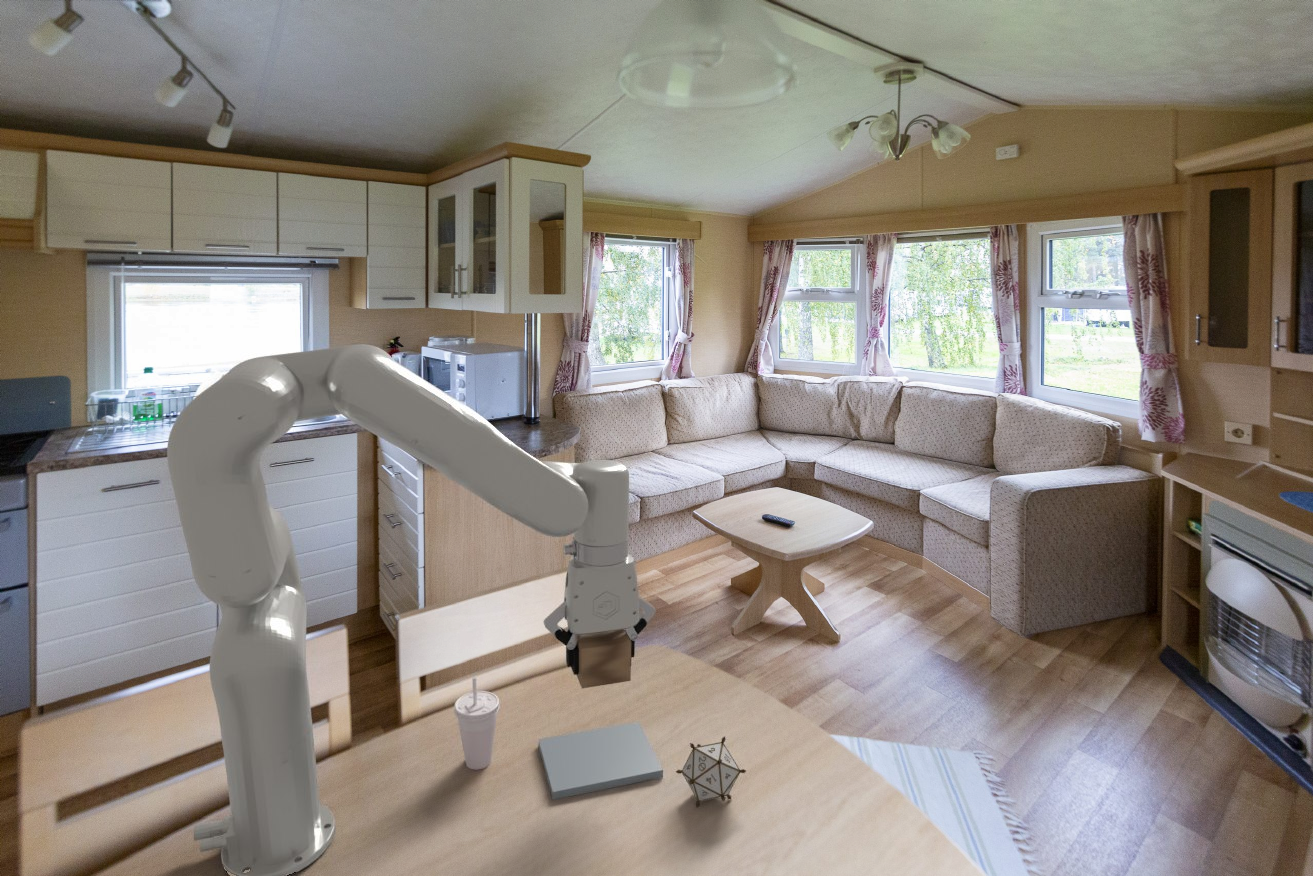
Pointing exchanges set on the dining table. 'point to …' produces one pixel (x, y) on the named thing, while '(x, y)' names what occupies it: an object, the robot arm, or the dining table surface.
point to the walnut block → (604, 658)
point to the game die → (710, 771)
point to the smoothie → (477, 725)
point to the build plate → (598, 759)
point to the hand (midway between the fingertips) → (600, 664)
